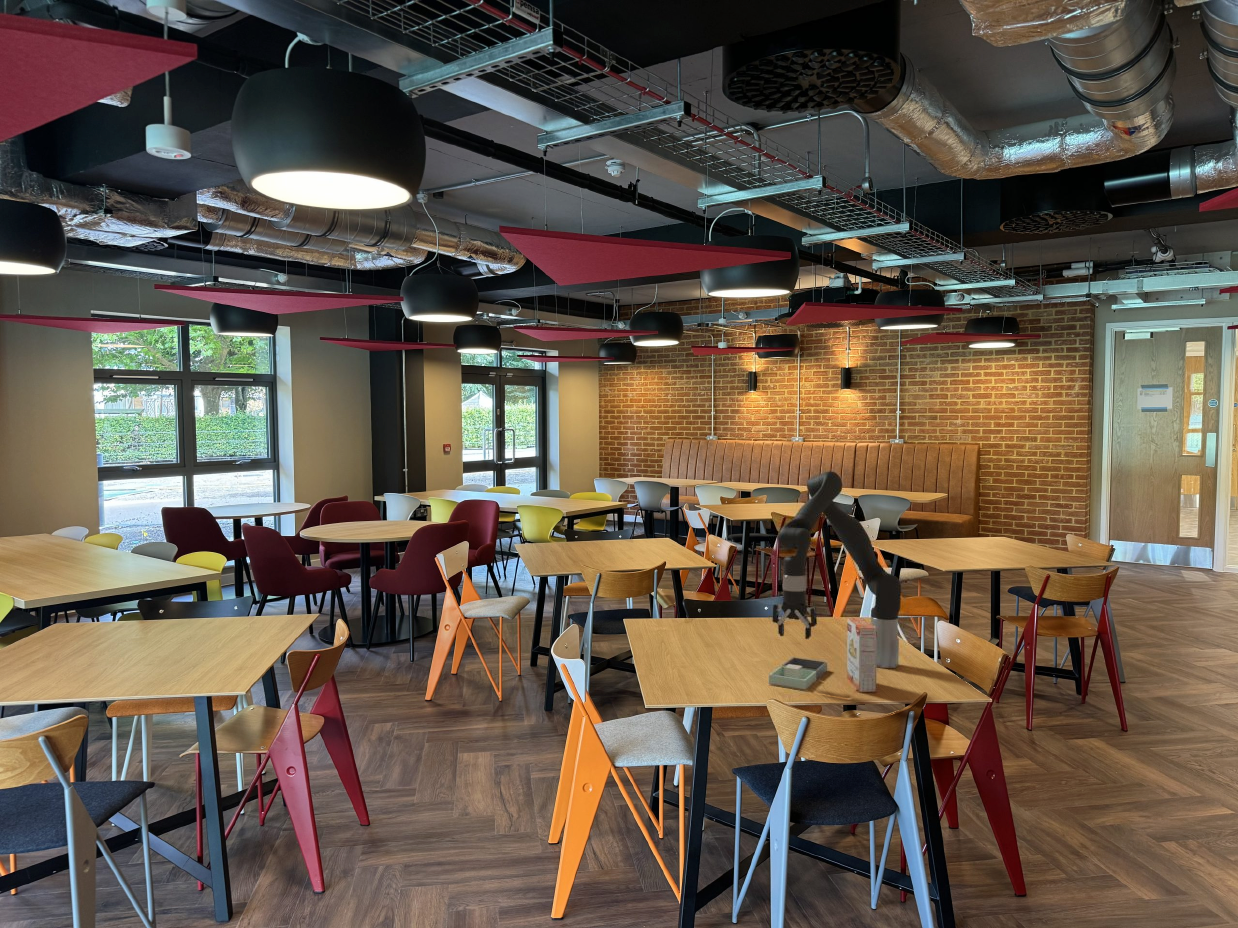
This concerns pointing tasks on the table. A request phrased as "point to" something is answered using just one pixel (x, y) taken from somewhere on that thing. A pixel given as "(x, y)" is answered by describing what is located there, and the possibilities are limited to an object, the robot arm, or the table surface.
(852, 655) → the cracker box
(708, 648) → the table surface
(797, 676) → the light grey block
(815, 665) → the bin
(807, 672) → the bin
